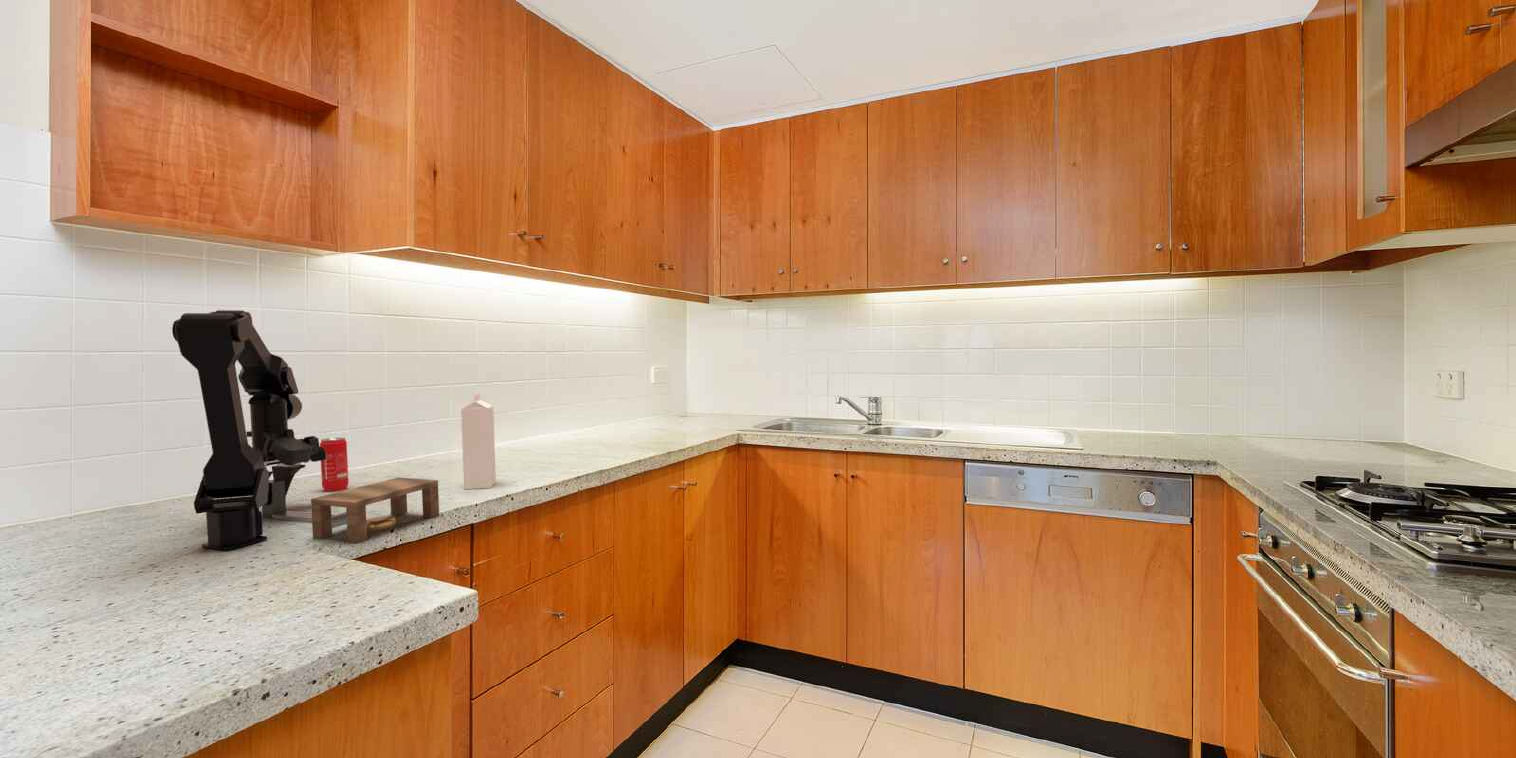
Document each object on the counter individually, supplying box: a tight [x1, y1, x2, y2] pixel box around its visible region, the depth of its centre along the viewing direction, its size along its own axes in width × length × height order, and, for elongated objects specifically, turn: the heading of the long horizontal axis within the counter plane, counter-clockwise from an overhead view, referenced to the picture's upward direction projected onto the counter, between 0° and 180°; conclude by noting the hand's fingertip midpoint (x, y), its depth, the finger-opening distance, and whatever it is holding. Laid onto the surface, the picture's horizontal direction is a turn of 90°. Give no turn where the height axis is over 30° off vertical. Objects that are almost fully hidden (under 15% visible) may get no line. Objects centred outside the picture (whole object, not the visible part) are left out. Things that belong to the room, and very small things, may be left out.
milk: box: [460, 393, 497, 490], centre depth 149 cm, size 6×6×22 cm
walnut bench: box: [310, 477, 440, 544], centre depth 117 cm, size 18×10×7 cm, turn 163°
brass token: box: [366, 515, 396, 531], centre depth 117 cm, size 5×5×2 cm
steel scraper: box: [261, 479, 347, 528], centre depth 122 cm, size 6×20×7 cm, turn 73°
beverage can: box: [319, 437, 349, 493], centre depth 148 cm, size 5×5×12 cm
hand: (273, 503), depth 125 cm, fingers closed on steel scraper, 2 cm apart
